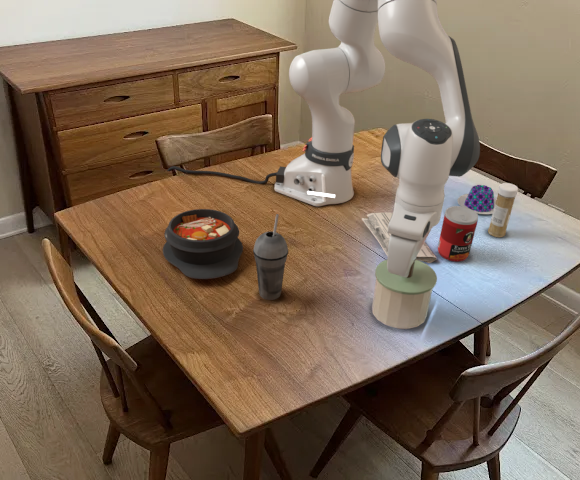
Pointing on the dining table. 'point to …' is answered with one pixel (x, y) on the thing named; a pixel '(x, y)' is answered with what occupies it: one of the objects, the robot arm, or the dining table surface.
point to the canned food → (457, 233)
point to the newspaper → (380, 231)
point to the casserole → (203, 243)
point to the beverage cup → (270, 262)
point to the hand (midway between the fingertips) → (406, 270)
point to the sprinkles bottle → (502, 209)
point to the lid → (407, 279)
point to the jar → (400, 307)
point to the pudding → (479, 199)
